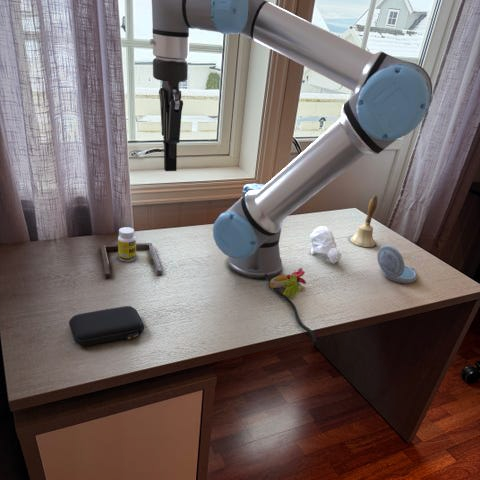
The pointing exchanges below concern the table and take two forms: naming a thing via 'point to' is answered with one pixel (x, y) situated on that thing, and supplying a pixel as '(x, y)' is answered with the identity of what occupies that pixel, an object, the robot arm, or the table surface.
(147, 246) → the bay
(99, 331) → the carrying case
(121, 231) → the supplement bottle
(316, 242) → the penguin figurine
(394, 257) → the pocket watch
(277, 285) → the bird rattle
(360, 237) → the hand bell
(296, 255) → the table surface
